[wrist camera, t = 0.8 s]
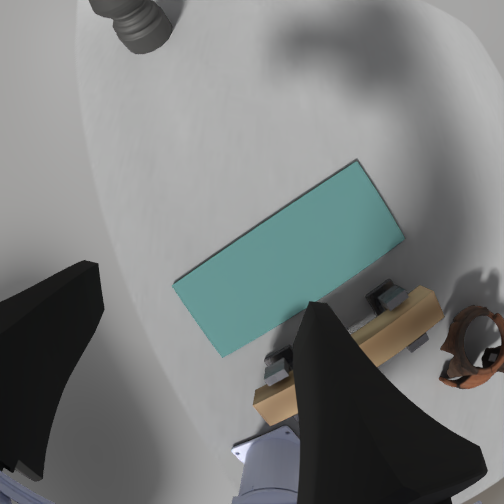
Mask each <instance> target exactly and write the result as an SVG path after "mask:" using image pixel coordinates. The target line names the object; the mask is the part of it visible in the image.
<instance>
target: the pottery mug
mask: <svg viewBox="0 0 504 504" xmlns="http://www.w3.org/2000/svg"><path fill="white" fill-rule="evenodd" d="M478 316H488V317H490V318H491V319H492V320H493V321H494V322H495V323H496V325H497V326H498V328H499V331H500V334H501V346H498V347H496V348H486V349H485V352H484V354H483V356H482V365H483V368H481V367H475V366H473V365H472V364H471V363H470V362H469V360H468V358H467V356H466V354H465V351H464V336H465V332H466V329H467V327H468V325H469V324H470V323H471V321H472V320H473V319H475V318H476V317H478ZM453 321H454V323H452V324H451V325H450V328H449V332H448V336H447V338H446V340H445V342H444V344H443V345H442V346H441V348H440V350H443V351H446V352H449V353H451V354H453V355H454V357H453V358H452V359H451V361H450V364H449V369H448V370H447V374H448V376H449V377H450V378H452V377H455V376H457V377H460V376H462V377H461V378H459V379H457V380H448V379H446V378H443V377H440V378H439V380H440V381H442V382H443V383H444V384H446V385H449V386H452V387H457V388H459V389H470V388H474V387H477V386H479V385H481V384H483V383H485V382H486V381H488V380H489V379H490V378H491V376H492V375H494V373H496V372H498V371H499V372H503V373H504V319H503V318H502V316H501V315H500V314H499V313H496V314H495V315H494V314H493V313H492V312H490V311H489V310H488V309H487V308H486V307H481V306H475V305H472V306H469V307H467V308H465V309H464V310H462V311H461V312H460V313H459V314H458V315H457V316H456V317H455V318H454V319H453Z"/></svg>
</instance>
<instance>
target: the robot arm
mask: <svg viewBox="0 0 504 504" xmlns="http://www.w3.org/2000/svg"><path fill="white" fill-rule="evenodd" d="M103 312H104V303H103V296H102V290H101V283H100V274H99V267H98V263H94V262H90V261H86V260H84V261H81V262H78V263H76V264H74V265H72V266H70V267H68V268H66V269H64V270H62V271H60V272H58V273H56V274H54V275H53V276H51V277H49V278H47V279H45V280H43V281H41V282H39V283H38V284H36V285H34V286H32V287H30V288H28V289H26V290H24V291H22V292H20V293H18V294H16V295H14V296H12V297H10V298H8V299H6V300H4V301H1V302H0V504H12V503H11V499H13V500H14V501H16V502H17V503H19V504H55V503H53V502H51V501H49V500H48V499H46V498H44V497H42V496H40V495H38V494H36V493H35V492H33V491H31V490H30V489H28V488H26V487H25V486H23V485H21V484H20V483H18V482H17V481H15V480H13V479H12V478H10V477H9V476H7V475H6V474H4V473H3V472H2V470H3V468H6V469H7V470H9V471H10V472H12V473H13V472H14V470H16V471H18V472H19V473H21V474H23V475H24V476H26V477H27V478H29V479H31V480H33V481H40V480H42V479H43V470H44V462H45V454H46V448H47V444H48V439H49V435H50V430H51V427H52V423H53V420H54V416H55V413H56V410H57V406H58V404H59V401H60V398H61V395H62V393H63V390H64V388H65V385H66V383H67V381H68V379H69V377H70V375H71V373H72V372H73V370H74V368H75V366H76V364H77V362H78V361H79V359H80V357H81V356H82V354H83V352H84V350H85V348H86V347H87V345H88V343H89V342H90V340H91V338H92V336H93V335H94V333H95V331H96V328H97V326H98V324H99V321H100V319H101V317H102V314H103ZM293 375H294V383H295V392H296V400H297V409H298V418H299V427H300V439H299V438H298V437H297V436H296V435H295V433H294V432H293V431H292V430H291V429H290V428H289V427H288V426H282V427H280V428H278V429H276V430H273V431H271V432H269V433H267V434H264V435H262V436H260V437H257V438H255V439H252V440H250V441H248V442H245V443H242V444H240V445H237V446H235V447H232V449H231V451H232V453H233V454H234V455H235V456H236V457H237V458H238V459H239V460H240V461H241V462H242V463H243V464H244V468H243V474H242V479H241V484H240V490H239V495H238V496H235V497H233V500H232V504H452V501H451V497H452V496H454V495H456V494H458V493H459V492H461V491H463V490H465V489H466V488H468V487H470V486H471V485H473V484H474V483H476V482H477V481H479V480H480V479H481V478H483V477H484V476H485V475H486V473H487V471H488V470H487V467H486V463H485V460H484V457H483V454H482V451H481V448H480V446H478V445H476V444H474V443H472V442H470V441H468V440H467V439H465V438H463V437H461V436H459V435H457V434H456V433H454V432H452V431H451V430H449V429H448V428H446V427H445V426H443V425H442V424H440V423H439V422H437V421H436V420H434V419H433V418H432V417H430V416H429V415H428V414H426V413H425V412H424V411H422V410H421V409H420V408H419V407H418V406H416V405H415V404H414V403H413V402H412V401H410V400H409V399H408V398H407V397H406V396H405V395H404V394H402V393H401V392H400V391H399V390H398V389H397V388H396V387H395V386H394V385H393V384H392V383H391V382H390V381H389V380H388V379H387V378H386V377H385V376H384V375H383V374H382V373H381V371H380V370H379V369H378V368H377V367H376V366H375V365H374V363H373V362H372V361H371V360H370V359H369V358H368V356H367V355H366V354H365V353H364V352H363V350H362V349H361V348H360V347H359V345H358V344H357V343H356V341H355V340H354V339H353V338H352V336H351V335H350V334H349V332H348V331H347V330H346V328H345V327H344V326H343V324H342V323H341V322H340V320H339V319H338V317H337V316H336V315H335V313H334V312H333V311H332V309H331V308H330V307H329V306H328V304H327V303H320V302H313V301H309V303H308V306H307V309H306V312H305V314H304V317H303V320H302V323H301V325H300V328H299V331H298V333H297V336H296V339H295V341H294V344H293ZM287 431H288V432H289V433H286V432H287ZM237 452H239V453H237ZM10 498H11V499H10ZM474 504H482V502H481V501H478V502H476V503H474Z"/></svg>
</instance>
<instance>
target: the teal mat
mask: <svg viewBox="0 0 504 504" xmlns="http://www.w3.org/2000/svg"><path fill="white" fill-rule="evenodd" d="M404 239H405V238H404V236H403V234H402V232H401V230H400V229H399V227H398V225H397V223H396V222H395V220H394V218H393V217H392V215H391V213H390V212H389V210H388V208H387V207H386V205H385V203H384V202H383V200H382V198H381V197H380V195H379V194H378V192H377V191H376V189H375V187H374V186H373V184H372V183H371V181H370V180H369V178H368V177H367V175H366V174H365V172H364V171H363V169H362V168H361V166H360V165H359V163H358V162H357V161H356V162H355V163H353V164H352V165H350V166H348V167H347V168H345V169H344V170H342V171H341V172H339V173H338V174H336V175H335V176H333V177H332V178H330V179H329V180H327V181H325V182H324V183H322V184H321V185H319V186H318V187H316V188H315V189H313V190H312V191H310V192H309V193H307V194H306V195H304V196H303V197H301V198H300V199H298V200H297V201H295V202H294V203H292V204H291V205H289V206H288V207H286V208H285V209H283V210H282V211H280V212H279V213H277V214H276V215H274V216H273V217H271V218H270V219H268V220H267V221H265V222H264V223H262V224H261V225H259V226H258V227H256V228H255V229H254V230H252V231H251V232H249V233H248V234H246V235H245V236H243V237H242V238H240V239H239V240H237V241H236V242H234V243H233V244H231V245H230V246H228V247H227V248H226V249H224V250H223V251H221V252H220V253H218V254H217V255H215V256H214V257H212V258H211V259H210V260H208V261H207V262H205V263H204V264H202V265H201V266H199V267H198V268H196V269H195V270H194V271H192V272H191V273H189V274H188V275H186V276H185V277H184V278H182V279H181V280H179V281H178V282H176V283H175V284H173V285H172V287H173V288H174V290H175V291H176V293H177V294H178V296H179V297H180V299H181V300H182V302H183V303H184V305H185V306H186V308H187V309H188V311H189V312H190V314H191V315H192V316H193V318H194V319H195V321H196V322H197V324H198V325H199V326H200V328H201V329H202V331H203V332H204V334H205V335H206V336H207V338H208V339H209V340H210V342H211V343H212V345H213V346H214V347H215V349H216V350H217V351H218V353H219V354H220V355H221V357H222V358H223V357H225V356H227V355H228V354H230V353H232V352H234V351H236V350H237V349H239V348H241V347H243V346H244V345H246V344H248V343H249V342H251V341H253V340H255V339H256V338H258V337H260V336H261V335H263V334H265V333H266V332H268V331H270V330H271V329H273V328H275V327H276V326H278V325H280V324H281V323H283V322H284V321H286V320H288V319H289V318H291V317H293V316H294V315H296V314H297V313H299V312H300V311H302V310H304V309H305V308H307V306H308V303H309V301H313V302H316V301H318V300H319V299H321V298H322V297H324V296H325V295H327V294H328V293H330V292H331V291H333V290H334V289H336V288H337V287H339V286H340V285H342V284H343V283H345V282H346V281H347V280H349V279H350V278H352V277H353V276H355V275H356V274H358V273H359V272H360V271H362V270H363V269H365V268H366V267H368V266H369V265H370V264H372V263H373V262H375V261H376V260H377V259H379V258H380V257H381V256H383V255H384V254H386V253H387V252H388V251H390V250H391V249H392V248H394V247H395V246H396V245H398V244H399V243H400V242H402V241H403V240H404Z"/></svg>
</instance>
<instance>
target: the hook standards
mask: <svg viewBox="0 0 504 504" xmlns="http://www.w3.org/2000/svg"><path fill="white" fill-rule="evenodd" d="M366 298H367V300H368V302H369V303H370V305H371V307H372V309H373V310H374V312H375V314H376V316H377V317H378V316H379V315H380V314H382V313H383V312H385V311H386V310H387V309H388V310H389V311H391V310H393V309H394V308H395V307H397V306H398V305H399V304H401V303H402V302H403V301H405V300H406V299H407V298H409V296H408V294H407V292H406V290H405V289H403V288H401V287H399V286H397V285H394V284H393V282H392V281H391V280H390V279H388V280H387V281H385V282H384V283H383V284H381V285H380V286H379V287H377V288H376V289H374V290H373V291H372V292H370V293H369V294H367V295H366ZM428 340H429V338H428V336H427V334H426V332H425V333H424V334H423V335H421V336H420V337H419V338H417V339H416V340H415V341H414V342H412V343H411V344H409V345H408V346H407V347H406V348H407V349H408V350H409V351H410V352H413V351H415V350H416V349H417V348H419V347H420V346H421V345H422V344H424V343H425V342H426V341H428ZM264 362H265V363H266V365H267V366H268V367H266V368H265V375H264V381H265V382H266V383H267V384H268V386H271V385H273V384H275V383H276V382H278V381H280V380H282V379H284V378H286V377H288V376H289V372H290V371H292V370H293V349H292V348H291V346H290V345H288V346H287V347H285V348H283V349H282V350H280V351H278V352H276V353H275V354H273V355H271V356H269V357H268V358H266V359H264ZM293 417H294V418H295V420H296V421H297V422H298V421H299V418H298V413H297V414H295V415H293Z"/></svg>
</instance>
